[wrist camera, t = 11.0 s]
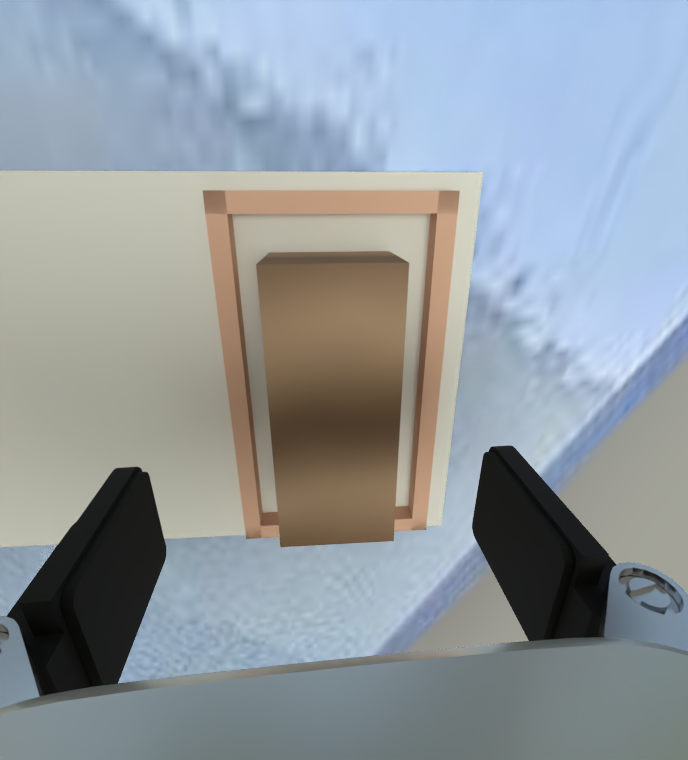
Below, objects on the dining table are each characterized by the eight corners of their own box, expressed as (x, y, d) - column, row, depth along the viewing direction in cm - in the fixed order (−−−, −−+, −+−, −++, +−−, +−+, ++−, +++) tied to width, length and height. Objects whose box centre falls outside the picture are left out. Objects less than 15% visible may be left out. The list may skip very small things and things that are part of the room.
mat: (-31, 542, 22) (-54, 564, 21) (-208, 170, 15) (-262, 167, 14) (438, 518, 23) (446, 538, 22) (478, 173, 16) (493, 170, 15)
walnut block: (269, 252, 17) (256, 264, 13) (388, 251, 17) (409, 262, 13) (286, 488, 21) (280, 546, 18) (380, 484, 22) (393, 540, 18)
